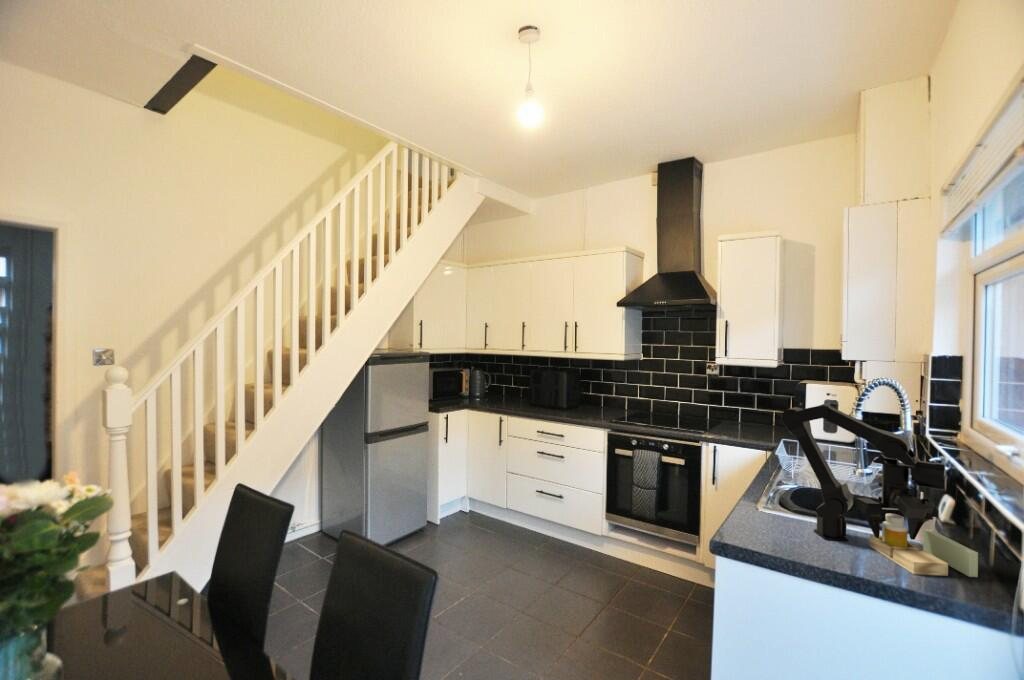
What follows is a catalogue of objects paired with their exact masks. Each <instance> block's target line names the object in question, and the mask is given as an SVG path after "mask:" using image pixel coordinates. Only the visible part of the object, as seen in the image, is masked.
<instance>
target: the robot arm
mask: <svg viewBox="0 0 1024 680" xmlns="http://www.w3.org/2000/svg"><path fill="white" fill-rule="evenodd" d="M780 419H781V423H782V424H783V425H784V427H785V429H786V430H787V431H788V432H789V433H790V434H791V435H792V436H794V438H795V439H796V440H797V442H798V444H799V446H800V447H801V449H802V452H803V454H804V456H805V457H806V460H807V461H808V464H809V465H810V467H811V469H812V471H813V473H814V475H815V476H816V479H817V480H818V482H819V486H820V490H821V496H822V500H823V503H821V504H820V505H819V506H818V507H816V509H815V513H816V529H815V528H814V529H813V532H814V533H815V534H817V535H818V536H820V537H821V538H823V539H824V540H827V541H828V540H829V541H849V537H847V522H846V517H845V516H843V515H845V514H846V513H848V511H849V510H850V509H852V507H853V508H854V509H856V510H857V511H859V512H860V513H862V514H863V516H864V517H865V520H866V521H867V524H868V525H869V528H870V530H871V532H872V534H873V536H875V537H876V538H879V536H880V530H881V529H880V527H881V526H880V525H881V524H880V523H881V522H880V521H881V519H882V518H884V517H883V515H881V514H882V513H883V511H890V512H891V511H892V512H893V511H896V512H901V514H902V516H903V517H904V518H906V519H907V531H908V534H909V539H910V540H912V541H915V540H916V539H915V538H916V536H917V534H918V532H919V530H920V528H921V527H922V525H923V524H924V522H926V521H928V520H933V519H934V518H933V517H936V518H939V515H940V514H939V513H940V512H939V508H938V507H937V506H936V505H935V504H934V501H933V500H931V499H930V498H924V497H923V498H922V499H921V497H915V495H914V489H913V488H911V487H910V482H909V481H910V478H911V482H913V483H914V484H916V486H917V487H923V488H928V489H934V490H940V491H947V481H948V480H947V478H948V476H947V473H946V464H945V463H942V462H931V461H930V462H929V461H923V460H920V458H919V457H918V455H917V454H916V453H915V452H914V450H912V449H911V443H910V442H909V439H908V438H906V437H905V436H902V435H900V434H897V433H894V432H891V431H887V430H884V429H879V428H877V427H874V426H872V425H870V424H867V423H865V422H863V421H862V420H859V419H858V418H855V417H853V416H852V415H850V414H847V413H845V412H843V411H841V410H838V409H837V408H835V407H833V406H832V405H830V404H828V403H823V404H819V405H815V406H811V407H807V408H800V407H798V406H797V407H791V408H788V409H785V410H784V411H782V414H781V415H780ZM820 419H824V420H826V421H827V422H829V423H831V424H834V425H836V426H838V427H840V428H842V429H844V430H845V431H848V432H849V433H852V434H853V435H855V436H858V437H859V438H861V439H863V440H865V441H866V442H868V443H869V444H870V445H871V446H872V447H874V448H875V449H876V450H877V451H879V452H881V453H880V455H879V456H878V457H876V458H874V459H873V461H872V462H873V464H879V465H881V481H878V487H881V496H878V502H877V501H875V500H873V499H871V498H869V497H862V498H861V497H856V498H855V499H853V498H854V495H853V494H852V492H851V491H850V489H849V486H848V483H846V482H845V483H840V482H839V481H838V480H837V478H836V477H835V475H834V473H833V471H832V469H831V468H830V466H829V464H828V462H827V459H826V458H825V456H824V454H823V452H822V451H821V448H820V446H819V445H818V443H817V441H816V439H815V437H814V435H813V432H812V427H811V426H812V425H811V421H815V420H820ZM910 469H911V472H910ZM910 473H911V477H910Z"/></svg>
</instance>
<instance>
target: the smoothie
mask: <svg viewBox="0 0 1024 680" xmlns="http://www.w3.org/2000/svg"><path fill="white" fill-rule="evenodd" d="M922 498H923V499H924V492H922V491H920V499H922ZM933 518H934V519H933V520H928V521H926V522H924V524H923V525H922V527H921V528H920V530H919V532H918V534H917V536H916V538H915V540H917V541H920V542H922V543H924V530H933V531H935V525H936V519H937V517H933Z"/></svg>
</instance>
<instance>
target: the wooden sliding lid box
mask: <svg viewBox="0 0 1024 680" xmlns="http://www.w3.org/2000/svg"><path fill="white" fill-rule="evenodd" d="M869 547H870V548H872V549H874V550H875V551H877V552H879V553H880V554H882V555H883V556H885V557H886V558H888V559H889V560H891V561H893V562H894V563H895V564H897V565H899V566H900V567H902V568H904V569H905V570H906V571H908V572H910V573H912V575H922V576H923V575H924V576H946V577H948V576H949V565H948V563H946V562H944V561H942V560H941V559H939V558H937V557H935V556H933V555H932V554H930V553H928V552H926V551H924V550H923V548H921V547H919V546H918V545H916V544H914V543H912V542H910V541H908V540H907V547H893V546H890V545H888V544H887V543H885V542H883V541H882V535H879V538H876V537H875V536H874V535H869Z"/></svg>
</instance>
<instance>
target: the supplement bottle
mask: <svg viewBox="0 0 1024 680" xmlns="http://www.w3.org/2000/svg"><path fill="white" fill-rule="evenodd" d="M881 536H882V541H883V542H885V543H887V544H888V545H890V546H893V547H907V541H908V526H906V525H905V516H904V515H899V514H896V513H890V512H888V513H885V521H882V524H881Z"/></svg>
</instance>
